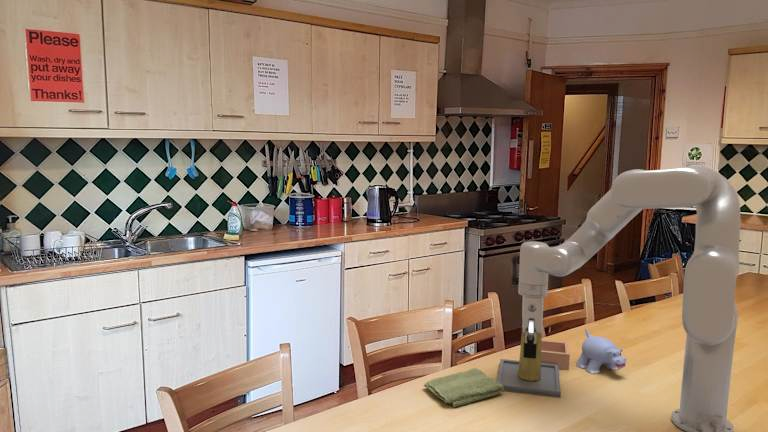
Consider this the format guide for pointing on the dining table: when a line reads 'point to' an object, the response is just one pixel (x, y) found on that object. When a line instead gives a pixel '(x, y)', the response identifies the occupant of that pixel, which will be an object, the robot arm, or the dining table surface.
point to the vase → (530, 361)
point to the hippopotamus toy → (599, 354)
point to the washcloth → (464, 387)
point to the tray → (543, 386)
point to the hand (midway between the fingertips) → (529, 351)
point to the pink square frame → (555, 353)
